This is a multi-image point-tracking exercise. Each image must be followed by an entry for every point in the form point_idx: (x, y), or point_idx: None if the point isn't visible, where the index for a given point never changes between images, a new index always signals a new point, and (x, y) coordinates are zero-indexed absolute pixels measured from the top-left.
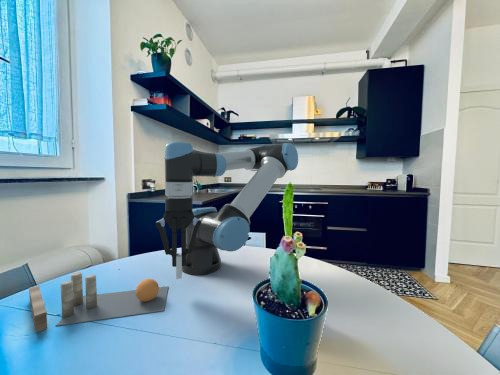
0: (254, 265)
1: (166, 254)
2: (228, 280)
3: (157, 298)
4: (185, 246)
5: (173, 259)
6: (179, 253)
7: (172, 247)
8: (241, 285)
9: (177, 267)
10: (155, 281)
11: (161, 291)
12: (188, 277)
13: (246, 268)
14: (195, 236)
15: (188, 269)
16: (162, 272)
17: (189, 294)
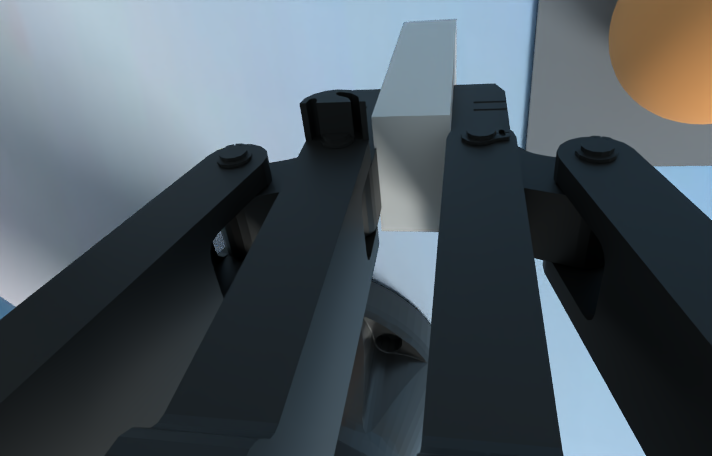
0: (11, 299)
1: (609, 140)
2: (127, 164)
3: (606, 6)
4: (279, 201)
5: (490, 122)
6: (414, 228)
7: (516, 201)
8: (28, 83)
9: (438, 58)
10: (657, 63)
11: (574, 105)
12: (393, 254)
13: (49, 278)
14: (6, 322)
15: (393, 313)
16: (566, 347)
17: (366, 30)
